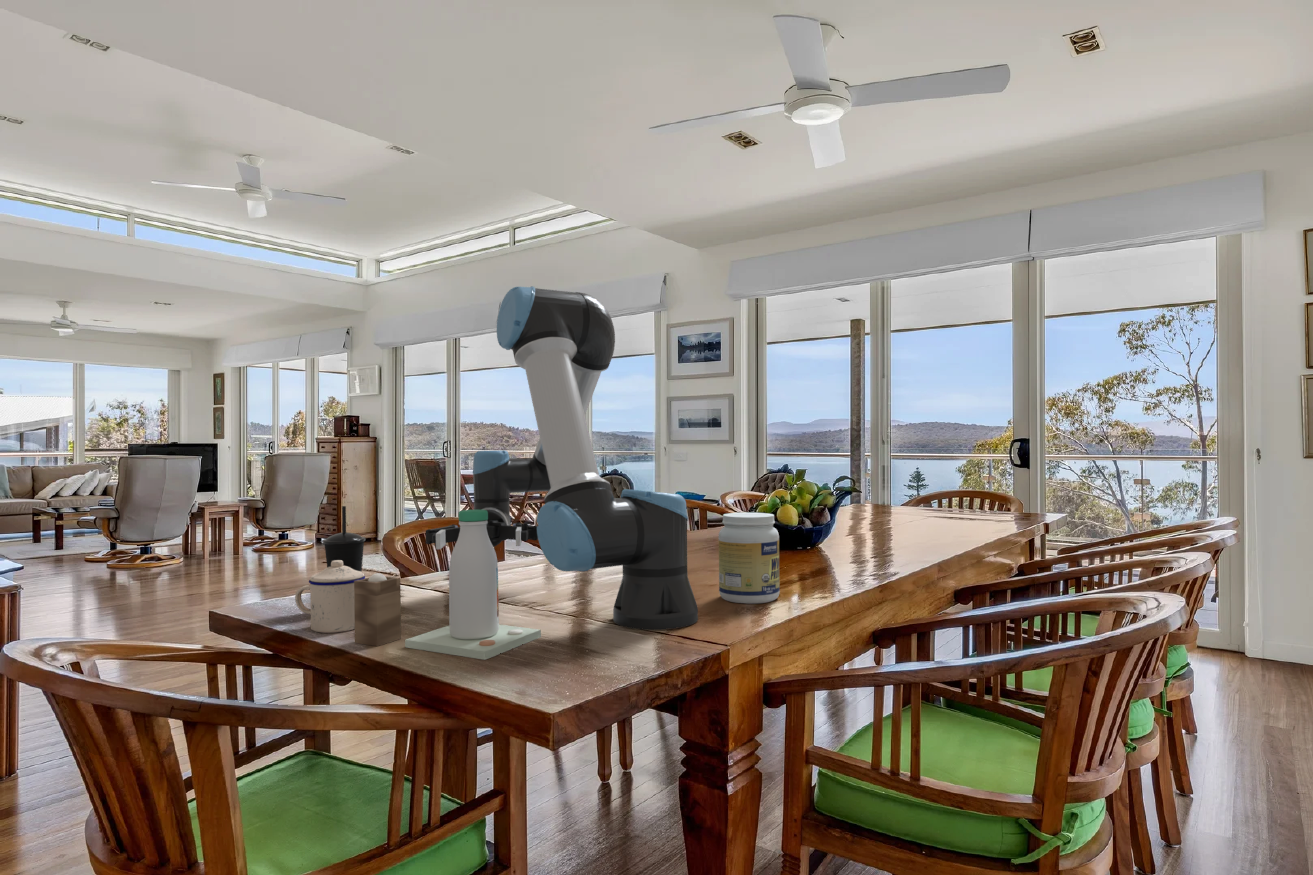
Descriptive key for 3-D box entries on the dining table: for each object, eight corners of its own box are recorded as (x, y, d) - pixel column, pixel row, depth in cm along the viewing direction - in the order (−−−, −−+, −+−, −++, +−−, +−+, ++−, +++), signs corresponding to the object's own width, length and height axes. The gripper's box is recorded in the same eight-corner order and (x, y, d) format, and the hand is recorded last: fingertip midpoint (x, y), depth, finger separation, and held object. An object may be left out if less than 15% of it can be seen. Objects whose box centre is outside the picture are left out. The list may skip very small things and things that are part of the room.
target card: (541, 637, 123) (540, 627, 123) (485, 659, 111) (485, 649, 111) (465, 626, 131) (465, 618, 131) (405, 647, 118) (405, 637, 118)
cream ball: (391, 590, 123) (391, 572, 123) (376, 594, 120) (376, 575, 120) (378, 589, 124) (377, 571, 124) (363, 592, 122) (363, 574, 122)
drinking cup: (331, 605, 149) (329, 504, 149) (370, 604, 150) (369, 504, 150) (318, 614, 141) (316, 508, 141) (360, 613, 142) (358, 507, 142)
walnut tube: (400, 638, 123) (400, 577, 123) (377, 646, 119) (376, 583, 119) (378, 635, 126) (378, 575, 126) (354, 642, 121) (354, 580, 121)
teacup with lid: (374, 620, 136) (373, 556, 136) (351, 633, 127) (350, 565, 127) (309, 620, 137) (308, 556, 137) (282, 633, 127) (281, 565, 128)
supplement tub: (771, 607, 143) (769, 518, 143) (710, 602, 148) (709, 516, 148) (786, 594, 155) (785, 512, 155) (729, 590, 159) (728, 510, 159)
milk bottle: (495, 640, 117) (494, 512, 117) (445, 641, 117) (444, 513, 117) (501, 627, 125) (500, 507, 125) (454, 629, 124) (452, 508, 124)
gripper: (550, 543, 153) (551, 558, 132) (424, 548, 150) (404, 564, 129) (550, 507, 153) (550, 515, 132) (424, 511, 150) (403, 520, 129)
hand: (478, 539), depth 131 cm, fingers open, 13 cm apart
